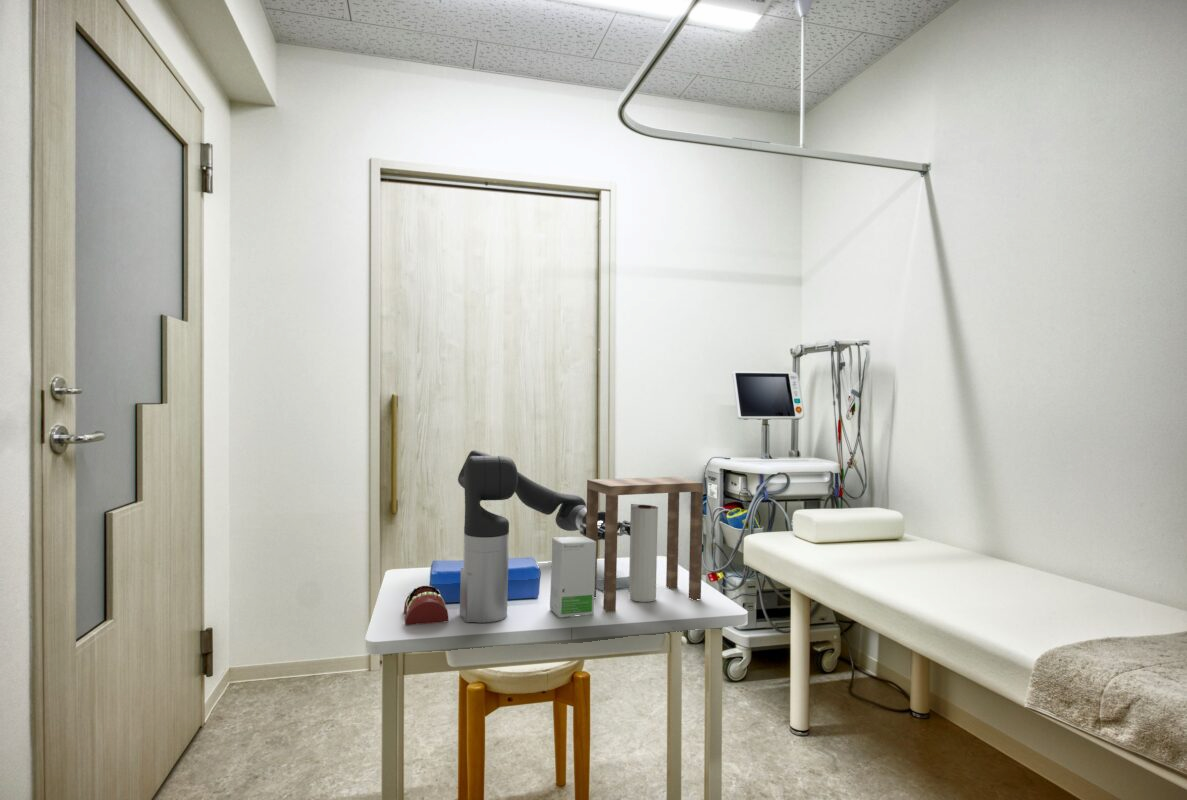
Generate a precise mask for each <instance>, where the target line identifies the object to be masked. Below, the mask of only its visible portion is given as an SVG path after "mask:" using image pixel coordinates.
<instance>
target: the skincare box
mask: <svg viewBox="0 0 1187 800" xmlns="http://www.w3.org/2000/svg"><path fill="white" fill-rule="evenodd" d="M551 540H552V541H551V544H552V545H551V546H552V547H551V569H550V570H551V571H550V597H549V609H550V611H551V612H552V613H554V614H555V616H557V617H558V618H569V617H568V616H571V617H576V616H575V615H582V616H586V615H585V614H593V615H594V614H595V598H594V592H595V561H596V541H594V540H591V539H589V538H587V537H585V536H565V537H564V536H563V537H562V536H560V537H559V536H558V537H556V536H555V537H552V538H551Z"/></svg>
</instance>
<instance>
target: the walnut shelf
mask: <svg viewBox="0 0 1187 800" xmlns="http://www.w3.org/2000/svg"><path fill="white" fill-rule="evenodd" d="M599 493H601V494H604V495H605V509H604V512H605V540H604V556H603V557H604V559H603V561H604V565H603V566H604V567H603V569H604V570H603V579H604V591H603V606H602V607H603V608H602V609H603V611H605V610H606V611H605V612H607V613H609V612H610V613H611V611H612V612H616V609H617V608H616V607H617V590H616V578H617V574H618V573H617V569H618V568H617V566H618V565H617V564H618V562H617V561H618V560H617V557H618V536H617V533H618V532H617V527H618V522H619V521H618V520H619V519H618V518H619V513H618V512H619V496H629V495H630V496H631V495H652V494H653V495H654V494H655V495H656V494H667V527H666V528H667V529H666V530H667V534H666V535H667V536H666V573H665V574H666V578H665V579H666V580H665V581H666V583H665V587H666V586H667V587H666V588H668V587H669V588H668V589H670V588H673V589H677V588H678V584H679V583H678V580H679V579H678V578H679V577H678V576H679V535H680V534H679V532H680V530H679V529H680V527H679V525H680V493H690V512H689V513H690V514H689V517H690V518H689V520H690V521H689V527H690V528H689V560H688V561H689V562H688V563H689V564H688V565H689V568H688V570H689V571H688V599H689V598H691V599H693V600H696V601H698V600H697V599H702V566H703V565H702V563H703V561H702V560H703V558H702V556H703V554H702V553H703V515H704V514H703V513H704V512H703V510H704V509H703V507H704V482H703V481H702V482H701V481H698V480H697V481H696V480H692V479H687V478H683V477H679V476H661V477H659V476H657V477H634V478H632V477H630V478H629V477H627V478H625V477H624V478H604V479H603V478H597V479H595V478H594V479H586V506H587V511H586V537H587V538H589V539H591V540H594V541H596V561H595V592H594V597H596V598H597V589H596V580H598V579H597V578H598V577H597V573H598V572H597V571H598V570H597V569H598V567H597V566H598V565H597V564H598V540H597V533H598V510H599ZM676 587H677V588H676ZM691 599H690V600H691ZM693 600H692V601H693Z"/></svg>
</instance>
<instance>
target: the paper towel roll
mask: <svg viewBox="0 0 1187 800" xmlns="http://www.w3.org/2000/svg"><path fill="white" fill-rule="evenodd" d="M658 509H659V507H658V506H656V505H651V504H637V503H636V504H634V503H630V521H629V522H630V536H629V567H628V568H629V573H628V574H629V576H628V577H629V588H628V593H629V598H630V600H632V601H635V602H641V603H649V602H653V601H656V598H657V568H658V567H657V565H658V564H657V563H658V562H657V561H658V560H657V559H658V518H659V515H658V514H659V510H658Z"/></svg>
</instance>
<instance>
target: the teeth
mask: <svg viewBox="0 0 1187 800" xmlns="http://www.w3.org/2000/svg"><path fill="white" fill-rule="evenodd" d="M403 608H404V609H403V614H406V615H405V617H404V618H405V619H404V621H405V622H404V623H405V624H404V625H405V626H414V625H423V624H424V625H427V624H434V623H444V621H448V622H449V612H448V609H447V605H446V602H445V599H444V598H443V597H442V595H441V591H440V590H439V589H436V587H435V586H432V585H422V586H421V585H420V586H417V587H414V588H413V589H412V591H410V592H409V593H408V596H407V597H406V600H405V601H404V607H403Z"/></svg>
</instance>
